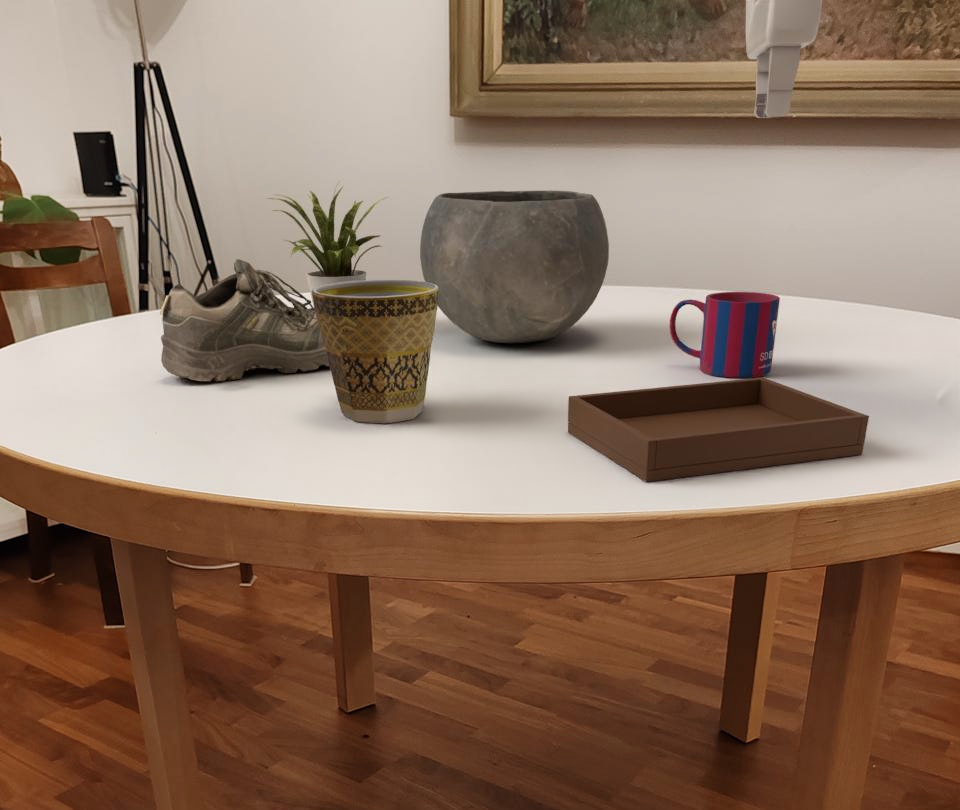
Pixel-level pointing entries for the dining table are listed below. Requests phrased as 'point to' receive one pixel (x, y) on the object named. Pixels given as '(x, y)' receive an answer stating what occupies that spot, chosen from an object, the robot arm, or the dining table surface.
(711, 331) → the cup
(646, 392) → the tray
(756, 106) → the robot arm
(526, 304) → the bowl
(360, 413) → the ceramic cup
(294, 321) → the hiking shoe
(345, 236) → the house plant
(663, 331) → the dining table surface
